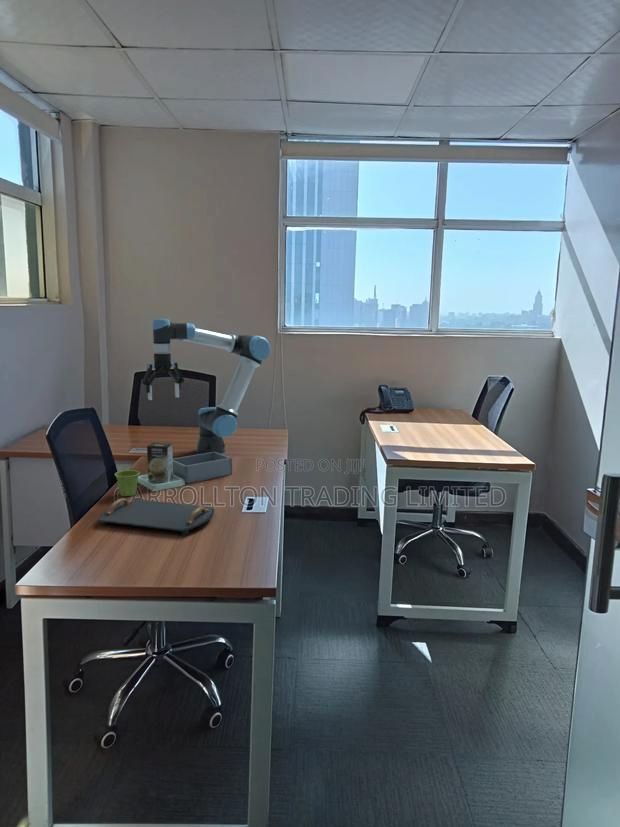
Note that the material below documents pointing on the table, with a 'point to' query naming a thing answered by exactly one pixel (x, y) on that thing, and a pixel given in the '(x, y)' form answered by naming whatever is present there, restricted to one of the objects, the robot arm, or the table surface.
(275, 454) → the table surface
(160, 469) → the coffee box
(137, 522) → the serving board
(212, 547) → the table surface
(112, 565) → the table surface
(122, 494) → the plant pot
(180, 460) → the grey storage bin
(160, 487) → the tray
